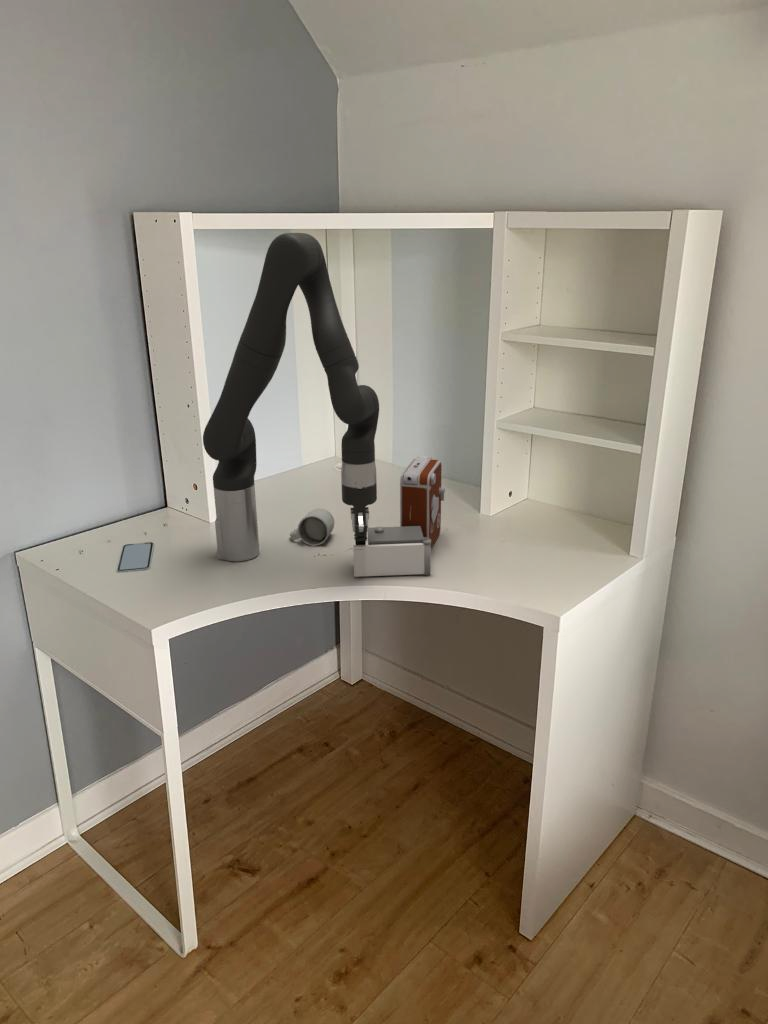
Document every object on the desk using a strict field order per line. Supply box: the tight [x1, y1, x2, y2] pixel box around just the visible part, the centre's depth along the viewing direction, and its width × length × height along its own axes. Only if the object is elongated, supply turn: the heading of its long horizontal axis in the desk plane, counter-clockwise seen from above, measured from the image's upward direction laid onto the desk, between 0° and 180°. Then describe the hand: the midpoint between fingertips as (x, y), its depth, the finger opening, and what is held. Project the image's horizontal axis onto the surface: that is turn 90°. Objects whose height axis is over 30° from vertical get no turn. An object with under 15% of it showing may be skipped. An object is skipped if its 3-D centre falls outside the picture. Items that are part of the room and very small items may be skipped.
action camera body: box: [367, 526, 431, 545], centre depth 177 cm, size 14×10×9 cm
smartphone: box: [116, 541, 155, 573], centre depth 185 cm, size 7×1×15 cm
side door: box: [352, 543, 432, 577], centre depth 173 cm, size 17×2×7 cm, turn 94°
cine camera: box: [399, 455, 446, 550], centre depth 190 cm, size 9×19×20 cm, turn 164°
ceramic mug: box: [289, 507, 335, 547], centre depth 193 cm, size 11×8×8 cm
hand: (360, 554), depth 175 cm, fingers closed
